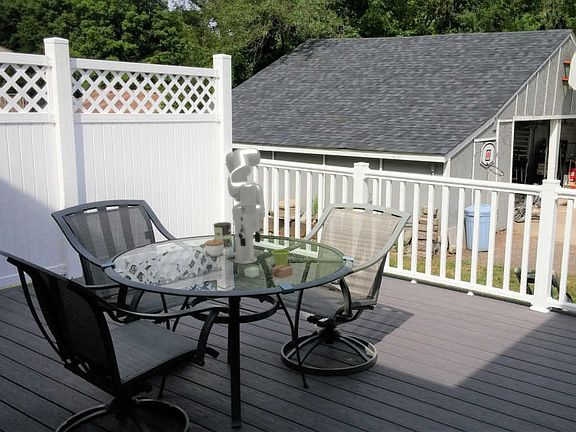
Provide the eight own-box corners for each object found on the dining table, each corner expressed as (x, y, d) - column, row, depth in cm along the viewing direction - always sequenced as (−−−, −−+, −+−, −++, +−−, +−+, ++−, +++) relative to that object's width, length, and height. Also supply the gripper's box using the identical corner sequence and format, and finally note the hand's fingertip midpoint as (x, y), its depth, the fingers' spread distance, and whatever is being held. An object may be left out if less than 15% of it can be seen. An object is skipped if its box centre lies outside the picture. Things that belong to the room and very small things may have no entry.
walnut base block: (272, 275, 295) (271, 267, 294) (282, 272, 300) (281, 264, 299) (282, 278, 290) (282, 270, 289) (292, 274, 295) (292, 266, 294)
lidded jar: (221, 251, 351) (220, 236, 349) (227, 255, 341) (226, 239, 339) (203, 254, 346) (202, 238, 344) (209, 258, 337) (208, 242, 335)
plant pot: (284, 271, 307) (283, 254, 305) (268, 268, 312) (268, 252, 310) (293, 266, 314) (293, 250, 313) (278, 264, 319) (278, 248, 318)
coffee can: (233, 244, 368) (231, 221, 365) (231, 248, 357) (230, 225, 355) (216, 245, 368) (214, 222, 365) (214, 249, 358) (212, 225, 355)
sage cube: (244, 278, 296) (244, 268, 295) (252, 276, 300) (251, 266, 299) (252, 280, 293) (251, 270, 292) (259, 277, 297) (258, 268, 296)
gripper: (240, 212, 281) (242, 248, 284) (266, 207, 294) (268, 241, 297) (229, 211, 286) (232, 246, 289) (256, 206, 299) (257, 239, 302)
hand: (250, 244), depth 293 cm, fingers open, 9 cm apart
